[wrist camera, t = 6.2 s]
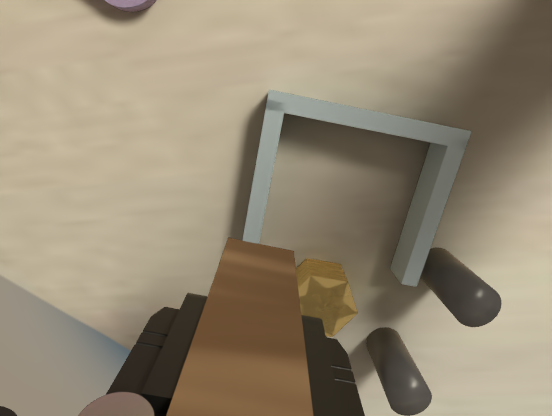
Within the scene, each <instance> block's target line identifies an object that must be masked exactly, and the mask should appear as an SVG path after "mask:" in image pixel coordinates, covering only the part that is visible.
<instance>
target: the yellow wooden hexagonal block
mask: <svg viewBox="0 0 552 416" xmlns="http://www.w3.org/2000/svg"><path fill="white" fill-rule="evenodd" d="M296 275H297V283H298V291H299V300H300V308H301V315H305V316H310V317H315V318H321V319H322V321H323V326H324V330H325V335H326V336H329V337H333V336H334V335H335V334H336V333H337V332H338V331H339V330H340V329H341V328H342V327H343V326H344V325H346V324H347V323H348V322H349V321H350V320H351V319H352V318H353V317H354V316H355V315H356V314H357V313H358V312H357V309H356V306H355V303H354V300H353V297H352V293H351V290H350V287H349V284H348V281H347V279H346V276H345V274H344V272H343V270H342V267H341V265H340V264H337V263H331V262H325V261H320V260H314V259H308V258H306V259H305V260H304V261H303V262H302V263H301V264H300V266H299V267H298V268H297V269H296Z"/></svg>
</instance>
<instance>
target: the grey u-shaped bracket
mask: <svg viewBox="0 0 552 416" xmlns="http://www.w3.org/2000/svg"><path fill="white" fill-rule="evenodd" d="M284 113H287V114H292V115H297V116H302V117H307V118H312V119H317V120H322V121H327V122H332V123H337V124H342V125H347V126H352V127H357V128H361V129H366V130H371V131H376V132H381V133H386V134H391V135H396V136H401V137H406V138H411V139H416V140H421V141H426V142H431V143H430V146H429V149H428V152H427V155H426V159H425V162H424V165H423V168H422V171H421V174H420V177H419V180H418V183H417V186H416V190H415V193H414V196H413V199H412V202H411V205H410V208H409V211H408V214H407V217H406V220H405V224H404V227H403V230H402V233H401V236H400V239H399V242H398V245H397V248H396V251H395V255H394V258H393V261H392V264H391V267H390V269H391V271H392V272H393V273H394V275H395V276H396V278H397V279H398V280H399V282H400V283H401V284H403V285H409V286H415V287H417V284H418V281H419V279H420V276H421V273H422V270H423V267H424V265H425V262H426V259H427V256H428V253H429V250H430V248H431V245H432V242H433V239H434V236H435V234H436V231H437V228H438V225H439V222H440V219H441V217H442V214H443V211H444V208H445V205H446V203H447V200H448V197H449V194H450V191H451V188H452V186H453V183H454V180H455V177H456V174H457V172H458V169H459V166H460V163H461V160H462V157H463V155H464V152H465V149H466V146H467V143H468V141H469V138H470V135H471V132H472V131H469V130H464V129H459V128H454V127H449V126H445V125H440V124H435V123H430V122H425V121H420V120H415V119H410V118H406V117H401V116H396V115H391V114H386V113H381V112H376V111H371V110H367V109H362V108H357V107H352V106H347V105H342V104H337V103H332V102H327V101H323V100H318V99H313V98H308V97H303V96H298V95H293V94H288V93H284V92H279V91H274V90H269V93H268V98H267V104H266V110H265V115H264V121H263V127H262V132H261V138H260V144H259V149H258V155H257V161H256V166H255V172H254V178H253V183H252V189H251V195H250V200H249V206H248V212H247V217H246V223H245V229H244V234H243V240H242V241H247V242H252V243H257V244H259V241H260V236H261V231H262V225H263V220H264V215H265V210H266V205H267V199H268V194H269V189H270V184H271V179H272V174H273V168H274V163H275V158H276V153H277V148H278V142H279V137H280V132H281V127H282V122H283V116H284Z"/></svg>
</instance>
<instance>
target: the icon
mask: <svg viewBox="0 0 552 416" xmlns="http://www.w3.org/2000/svg"><path fill="white" fill-rule="evenodd" d="M105 1H106V2H108V3H109V4H111V5H112V6H114V7H115V8H117V9H120V10H123V11H130V12H133V11H140V10H143V9H146V8H148V7H150V6H151V5H152V4H154V3H155V2H156V0H105Z"/></svg>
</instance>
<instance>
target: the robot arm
mask: <svg viewBox="0 0 552 416" xmlns="http://www.w3.org/2000/svg"><path fill="white" fill-rule="evenodd" d="M206 300H207V296H201V295H196V294H191V293H187V295H186V297H185V299H184V301H183V304H182V306H181V308H180V310H179V309H173V308H168V307H164V308H163V309H161V310H160V311H158V312H157V313H156V314H154V315H153V316H151V318H150V319H149V321H148V323H147V325H146V326H145V328H144V330H143V333H141V335H140V337H139V338H138V340H137V342H136V345H134V347H133V349H132V351H131V352H130V354H129V356H128V358H127V359H126V361H125V363H124V364H123V366H122V368H121V370H120V371H119V373H118V375H117V376H116V378H115V380H114V382H113V383H112V385H111V387H110V389H109V390H108V392H107V393H106V395H105V396H102V397H100V398H98V399H96V400H94V401H93V402H91V403H90V404H89V405H87V406H86V407H85V408H84V409H83V410H82V411H81V413H80V414H79V415H78V416H166V415H167V412H168V409H169V406H170V403H171V401H172V398H173V395H174V392H175V389H176V386H177V383H178V381H179V378H180V375H181V372H182V369H183V366H184V363H185V360H186V358H187V355H188V352H189V349H190V346H191V343H192V340H193V338H194V335H195V332H196V329H197V326H198V323H199V320H200V318H201V315H202V312H203V309H204V306H205V303H206ZM301 316H302V325H303V333H304V341H305V350H306V358H307V367H308V375H309V383H310V392H311V400H312V408H313V416H365V415H364V411H363V408H362V404H361V401H360V397H359V394H358V390H357V387H356V384H355V379H354V376H353V372H352V371H351V365H350V362H349V358H348V355H347V353H346V351H345V350H344V349H343V347H342V346H341V344H340V343H339V342H338V340H337V339H332V338H327V337H326V335H325V330H324V326H323V321H322V319H321V318H315V317H310V316H305V315H301ZM0 416H17V415H16V414H15V413H14V412H13V411H12V410H10V409H8V408H5V407H1V406H0Z"/></svg>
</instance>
